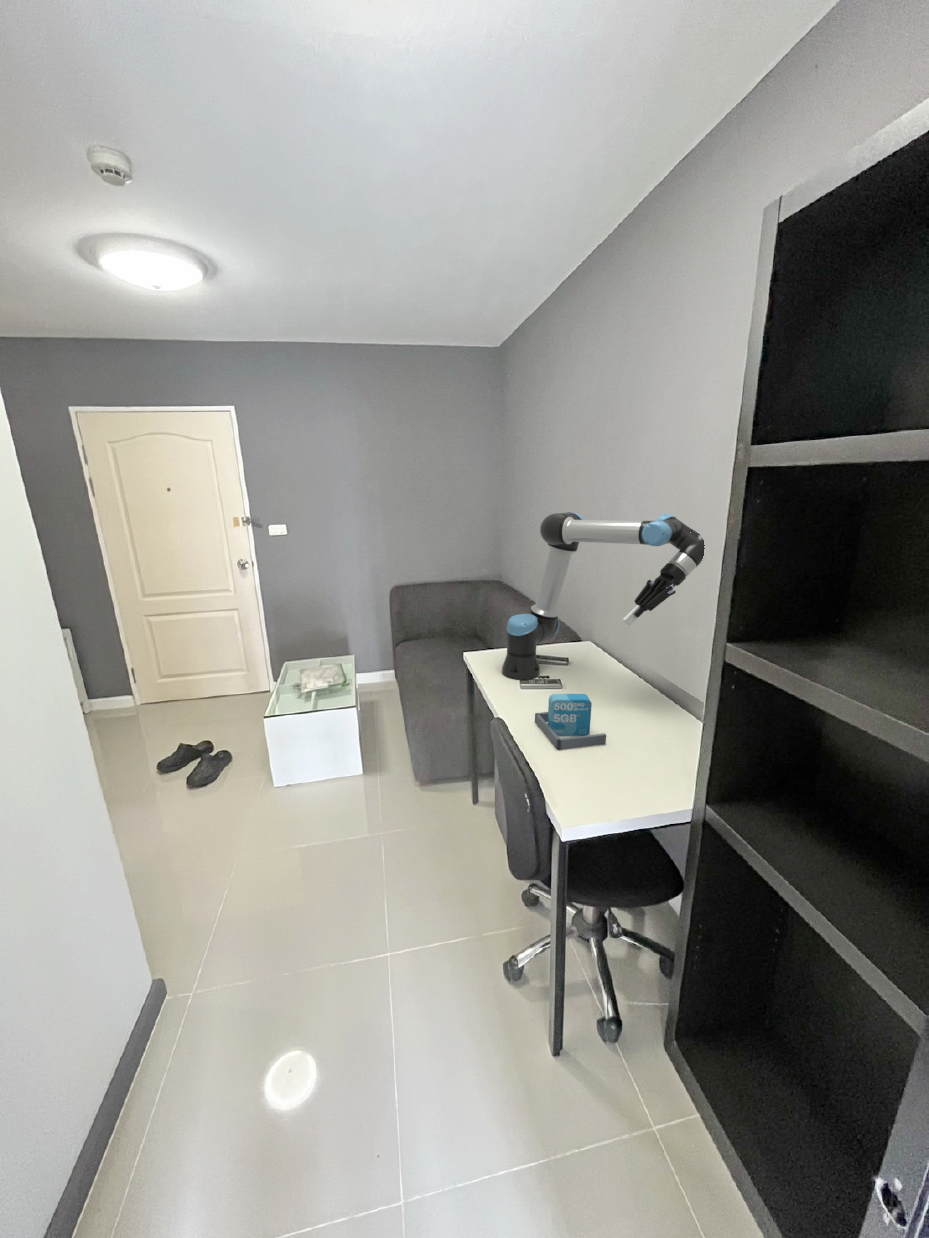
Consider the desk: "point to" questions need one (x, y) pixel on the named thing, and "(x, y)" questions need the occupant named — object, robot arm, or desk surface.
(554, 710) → the data package
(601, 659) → the desk surface
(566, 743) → the dock bay
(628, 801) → the desk surface
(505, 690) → the desk surface
